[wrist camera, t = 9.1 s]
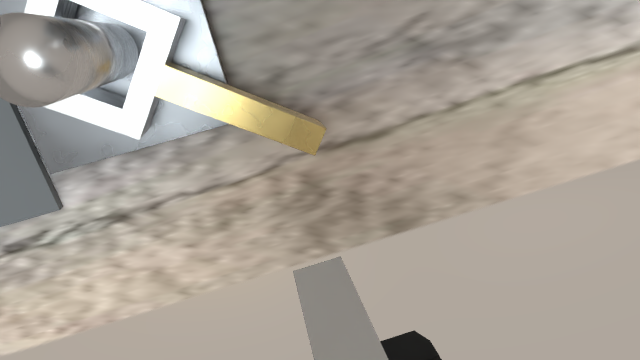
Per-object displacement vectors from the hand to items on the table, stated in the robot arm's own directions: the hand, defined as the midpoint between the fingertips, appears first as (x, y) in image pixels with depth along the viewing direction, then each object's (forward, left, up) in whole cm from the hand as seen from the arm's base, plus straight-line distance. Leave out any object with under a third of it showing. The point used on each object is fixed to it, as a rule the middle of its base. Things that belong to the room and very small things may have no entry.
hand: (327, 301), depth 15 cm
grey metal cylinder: (-9, -7, -16) cm, 19 cm away
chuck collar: (-6, -4, -15) cm, 17 cm away
